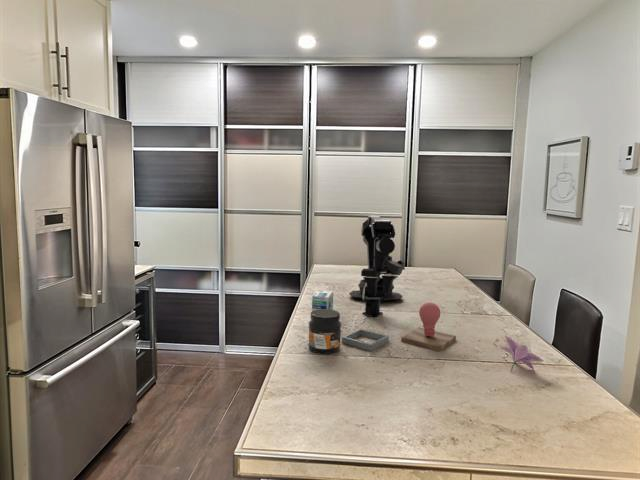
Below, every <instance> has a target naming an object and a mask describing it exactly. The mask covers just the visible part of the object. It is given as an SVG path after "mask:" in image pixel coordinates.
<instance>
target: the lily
mask: <svg viewBox="0 0 640 480" xmlns="http://www.w3.org/2000/svg"><path fill="white" fill-rule="evenodd" d="M504 338H505V340H506V342H507V345H508V346H500V347H499V349H501V350H503V351H504V352H507V353H508V354H510V356H511V359H512V362H513V361H514V362H513V363H512V366H511V370H510V372H511V371H512V372H513V368H514V366H515V362H517V363H523V364H525V365H526V366H527V367H528V368H529V369H531V368H532V369H534V370H535V368H534V366H533V364H532V363H533V362H540V363H541V362H543V363H544V362H545V360H544V359H542V358H541V357H540V356H539V355H536V354H534V353H533V352H529V349H528V346H527V345H526V344H521V345H519V344H518V343H517V342H516V341H515V340H514V339H512V338H511V337H509V336H507V335H504ZM517 363H516V364H517ZM532 369H531V370H532Z"/></svg>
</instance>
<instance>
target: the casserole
mask: <svg viewBox="0 0 640 480" xmlns="http://www.w3.org/2000/svg"><path fill="white" fill-rule="evenodd" d="M365 283H366V281H365V279H364V278H363V279H361V280H360V281H359V284H358V285H357V286H358V288H359V290H351V291H350V292H349V293H348V294H349V296H350V297H353V298H357V299H363V298H362V293H363V289H364V286H365ZM394 289H395V286H394V283H392V285H391V288H390V291H389V294H385V300H384V301H383V302H386V301H391V300H393V301H394V300H396V301H397V300H401V299H402V298H403V295H402V294H401V293H399V292H396V291H395V292H393V290H394ZM366 297H367V296H366ZM381 302H382V301H380V303H381Z"/></svg>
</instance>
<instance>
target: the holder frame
mask: <svg viewBox="0 0 640 480" xmlns="http://www.w3.org/2000/svg"><path fill="white" fill-rule="evenodd" d="M359 336H363V337H367V338H370V339H374V340H375V341H374V342H371V343H369V342H365V341H361V340H357V339H355V338H357V337H359ZM389 339H390V337H389V335H387V334H382V333H379V332H375V331H372V330H368V329H365V328H364V329H362V328H358V329H356V330H354V331H351V332H349V333H348V334H345V335H343V336H341V343H342V344H344V345H345V344H346V345H348V346H352V347H356V348H359V349H362V350H365V351H370V352H372V351H374V350H376V349H378V348H380V347H382V346H383V345H385V344H387V343H389Z"/></svg>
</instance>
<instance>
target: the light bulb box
mask: <svg viewBox="0 0 640 480" xmlns="http://www.w3.org/2000/svg"><path fill="white" fill-rule="evenodd" d="M318 309H330V310H334V291H333V290H324V289H323V290H321V289H316V292H314V293H313V295H312V298H311V312H312V311H314V310H318Z"/></svg>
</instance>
